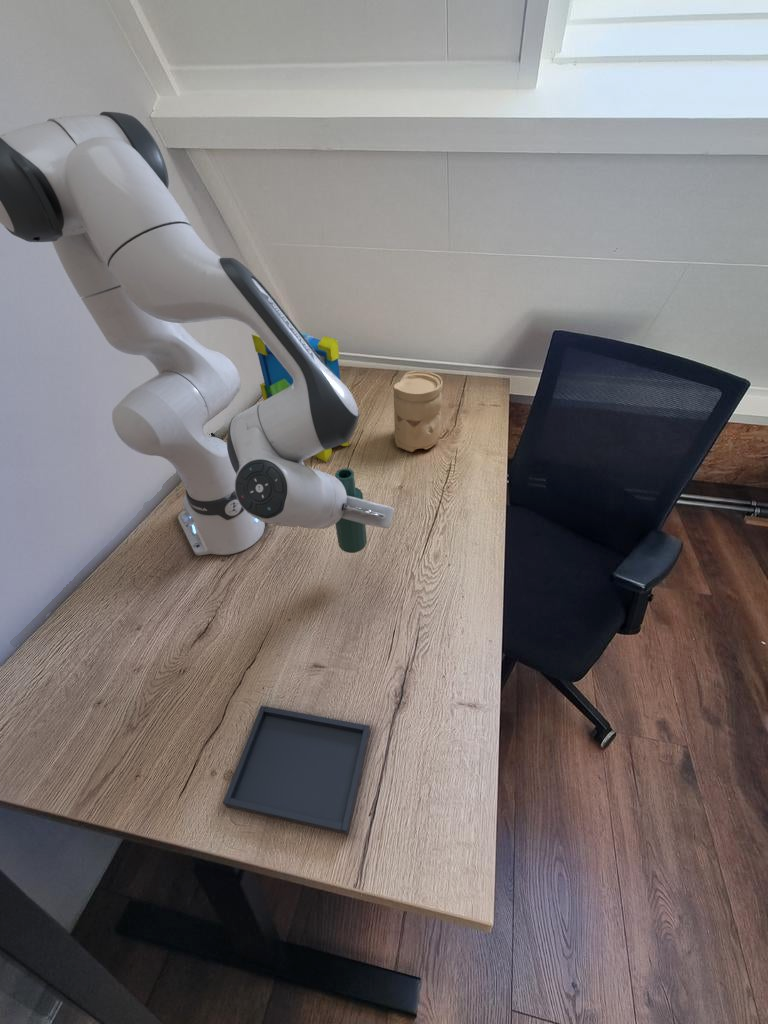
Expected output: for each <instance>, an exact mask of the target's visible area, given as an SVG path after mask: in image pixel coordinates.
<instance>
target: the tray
mask: <svg viewBox="0 0 768 1024" xmlns="http://www.w3.org/2000/svg"><path fill="white" fill-rule="evenodd" d="M370 734H371V728H370V725H368V724H363V723H357V722H353V721H345V720H341V719H335V718H330V717H325V716H318V715H313V714H308V713H303V712H298V711H293V710H287V709H282V708H275V707H270V706H265V705H260V707H259V710H258V712H257V715H256V718H255V720H254V723H253V725H252V728H251V730H250V733H249V735H248V738H247V740H246V742H245V745H244V747H243V750H242V753H241V756H240V757H239V760H238V763H237V766H236V768H235V770H234V773H233V775H232V778H231V780H230V782H229V786H228V788H227V790H226V793H225V796H224V798H223V801H222V804H223V805H224V806H225V807H226V808H227V809H231V810H237V811H240V812H244V813H250V814H254V815H258V816H263V817H266V818H271V819H276V820H280V821H283V822H284V821H285V822H289V823H293V824H297V825H302V826H305V827H309V828H314V829H320V830H323V831H327V832H332V833H337V834H341V835H345V836H349V835H350V830H351V826H352V820H353V816H354V812H355V811H354V810H355V806H356V802H357V796H358V791H359V788H360V782H361V777H362V773H363V768H364V764H365V759H366V753H367V749H368V744H369V740H370V736H371V735H370Z"/></svg>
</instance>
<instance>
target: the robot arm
mask: <svg viewBox="0 0 768 1024" xmlns="http://www.w3.org/2000/svg"><path fill="white" fill-rule="evenodd" d="M169 179H170V178H169V173H168V168H167V165H166V162H165V159H164V156H163V154H162V151H161V149H160V147H159V145H158V143H157V141H156V140H155V138H154V137H153V135H152V134H151V132H150V131H149V130H148V129H147V128H146V126H145V125H144V124H142V122H141V121H140V120H139V119H138V118H136V117H135V116H134V115H131V114H127V113H123V112H117V111H116V112H115V111H101V112H100V113H99V114H81V115H78V114H77V115H67V116H66V115H65V116H59V117H50V118H48V119H47V120H46V121H43V122H37V123H34V124H29V125H25V126H22V127H19V128H16V129H14V130H10V131H7V132H4V133H2V134H0V224H1V225H2V226H4V228H5V229H6V230H7V231H8V232H9V233H10V234H11V235H13V236H14V237H17V238H19V239H21V240H24V241H26V242H28V243H50V242H51V243H52V245H53V248H54V250H55V252H56V254H57V257H58V259H59V261H60V263H61V265H62V267H63V270H64V271H65V273H66V275H67V277H68V279H69V280H70V283H71V284H72V286H73V287H74V289H75V291H76V293H77V294H78V296H79V298H80V299H81V301H82V303H83V304H84V306H85V307H86V309H87V310H88V313H90V316H91V317H92V319H93V320H94V322H95V324H96V325H97V327H98V329H99V330H100V332H101V333H102V335H103V337H104V338H105V340H106V342H107V343H108V344H109V345H110V346H111V347H113V348H114V349H116V351H118V352H121V353H124V354H127V355H131V356H143V357H144V358H146V359H147V360H148V361H149V362H150V363H151V364H152V365H153V366H154V367H155V369H156V370H157V372H158V374H157V375H155V376H154V377H151V378H150V379H148V380H146V381H145V382H143V383H141V384H140V385H138V386H136V387H135V388H134V389H132V390H131V391H129V392H128V393H127V394H126V395H125V396H124V397H123V398H122V399H121V400H120V401H119V403H118V404H117V405H116V406H114V408H113V409H112V414H111V419H112V426H113V429H114V431H115V433H116V434H117V436H118V438H119V439H120V440H121V441H122V442H123V443H124V444H125V445H126V446H127V447H128V448H130V449H131V450H132V451H135V452H136V453H139V454H142V455H146V456H151V457H154V456H155V457H160V458H163V459H165V460H167V461H168V462H169V463H170V464H171V465H172V466H173V468H174V469H175V471H176V472H177V475H178V476H179V477H180V480H181V482H182V484H183V486H184V488H185V496H184V497H183V499H182V501H181V503H182V507H183V509H182V511H181V512H180V513H179V514H178V516H177V519H178V522H179V525H180V527H181V528H182V530H183V532H184V534H185V537H186V538H187V541H188V543H189V545H190V547H191V549H192V551H193V553H194V555H195V556H206V555H219V556H229V555H233V554H238V553H240V552H244V551H245V550H247V549H249V548H250V547H252V546H254V545H255V544H256V543H257V542H258V541H259V540H260V539H261V538H262V536H263V534H264V532H265V527H266V524H269V525H274V526H279V527H289V528H295V527H296V528H297V527H299V528H304V529H318V530H323V529H324V530H325V529H328V528H330V527H333V526H335V524H336V523H337V522H338V521H339V520H340V519H341V518H343V519H347V520H351V521H355V522H358V523H362V524H365V525H367V526H370V527H376V528H382V529H389V528H390V527H391V525H392V522H393V520H394V519H393V518H394V514H395V509H394V508H393V507H392V506H390V505H386V504H382V503H378V502H375V501H371V500H367V499H364V498H363V499H359V498H355V497H351V496H347V494H346V490H345V488H344V486H343V484H342V483H341V482H340V480H339V479H337V478H336V476H335V475H333V474H330V473H328V472H326V471H322V470H319V469H316V468H311V467H309V466H307V465H305V463H304V461H306V460H308V459H309V458H311V457H315V455H316V454H318V453H320V452H322V451H324V450H328V449H331V448H332V449H333V448H336V447H338V446H341V444H344V443H346V442H349V443H350V441H351V439H352V437H353V435H354V434H355V431H356V428H357V426H358V423H359V420H360V411H359V408H358V404H357V402H356V400H355V397H354V396H353V394H352V392H351V391H350V389H349V388H348V387H347V385H346V384H345V383H344V382H343V381H342V380H341V379H340V380H339V379H338V377H337V376H336V375H335V374H334V373H333V372H332V371H331V369H330V368H329V367H328V366H327V365H326V364H325V363H324V362H323V360H322V359H321V358H320V357H319V355H318V354H317V353H316V352H315V350H314V349H313V348H312V346H311V345H310V344H309V343H308V341H307V340H306V339H305V337H304V336H303V335H302V334H301V333H302V332H301V330H299V328H298V327H297V325H296V324H295V323H294V322H293V321H292V320H291V318H290V317H289V316H288V314H287V313H286V312H285V310H284V309H283V308H282V306H281V305H280V304H279V302H277V300H276V299H275V298H274V296H273V295H271V293H270V291H268V289H267V288H266V286H264V285H263V283H262V282H261V281H260V279H259V278H257V276H256V275H255V274H254V273H253V272H252V271H251V270H250V269H249V267H247V266H245V265H244V264H243V263H242V262H241V261H239V260H238V259H237V258H234V257H221V256H220V255H219V254H217V253H215V252H214V251H213V250H212V249H210V248H209V246H207V244H205V243H204V241H203V240H202V239H201V238H200V236H199V235H198V233H197V232H196V231H195V229H194V227H193V226H192V224H191V223H190V221H189V219H188V218H187V215H186V214H185V213H184V211H183V209H182V208H181V207H180V204H178V202H177V200H176V199H175V198H174V196H173V194H172V193H171V192H170V191H169V184H170V182H169V181H170V180H169ZM215 320H234V321H237V322H241V323H243V324H245V325H247V326H248V327H249V328H250V329H251V330H253V331H254V333H256V335H258V336H259V337H260V338H261V340H262V341H263V342H264V343H265V345H266V346H267V347H268V348H269V349H270V351H271V352H272V353H273V354H274V356H275V357H276V358H277V359H278V361H279V362H280V363H281V364H282V365H283V367H284V368H285V369H286V370H287V372H288V373H289V374H290V375H291V377H292V378H293V381H294V382H293V384H292V385H291V386H289V387H288V388H286V389H284V390H282V391H281V392H279V393H277V394H275V395H273V396H272V397H270V398H268V399H266V400H264V399H263V400H261V401H260V402H257V403H256V404H254V405H253V406H250V407H248V408H247V409H245V410H243V411H242V412H240V413H238V414H237V415H234V417H232V419H231V420H230V422H229V425H228V429H227V434H226V441H224V440H223V439H221V438H219V437H217V435H215V433H214V432H212V433H211V435H210V434H209V435H205V434H204V427H205V425H206V424H207V423H209V422H211V420H212V419H214V418H215V417H216V416H218V415H219V414H220V413H222V412H223V411H224V410H226V409H227V408H228V407H229V405H230V404H231V403H232V402H233V400H234V399H235V398H236V396H237V395H238V393H239V392H240V390H241V387H242V381H241V376H240V373H239V371H238V369H237V367H236V365H235V364H234V363H233V362H232V360H230V359H229V358H228V357H227V356H226V355H225V354H223V353H221V352H219V351H216V350H213V349H210V348H209V347H206V346H204V345H203V344H201V343H200V342H199V341H198V340H196V339H195V338H194V337H193V336H192V335H191V334H190V333H189V332H188V331H187V330H186V329H185V327H184V326H183V325H182V324H193V323H200V322H201V323H203V322H208V321H215Z"/></svg>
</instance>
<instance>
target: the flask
mask: <svg viewBox="0 0 768 1024" xmlns="http://www.w3.org/2000/svg"><path fill="white" fill-rule="evenodd" d="M334 476H335V477H336V478H337V479H339V480H340V482H341V483H342V484H343V486H344V488H345V490H346V494H347V496H351V497H355V498H359V499H363V500H364V493H363V492H362V490H361V489H359V488H358V487H357V486H356V479H355V472H354V470H352V469H350V468H346V467H344V468H339V469H337V471H336V472H335V474H334ZM334 526H335V532H336V536H337V543H338V546H339V548H340V550H342V551H343V552H345V553H349V554H354V553H358V552H361V551H363V550H364V549H365V547H366V546H367V543H368V541H367V540H368V537H367V528H366V524H362V523H358V522H355V521H351V520H347V519H343V518H341V519H340V520H339V521H338V522H337V523H336V524H334Z"/></svg>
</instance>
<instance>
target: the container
mask: <svg viewBox="0 0 768 1024" xmlns="http://www.w3.org/2000/svg"><path fill="white" fill-rule="evenodd" d="M443 386H444V384H443V378H442V377H441V376H440V375H439V374H437V373H434V372H431V371H423V370H410V371H407V372H405V374H404V375H403V376H402V377H400V380H399V381H398V382H396V383H394V385H393V388H392V391H393V411H394V413H393V414H394V415H393V421H394V443H395V445H396V447H397V448H400V449H402V450H405V451H406V452H409V453H413V452H414V451H417V450H418V449H424V450H429V449H431V448H433V446H434V445H436V444H437V443H438V441H440V437H441V432H442V431H441V428H442V410H441V409H442V406H443V405H442V404H443V393H442V391H443Z"/></svg>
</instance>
